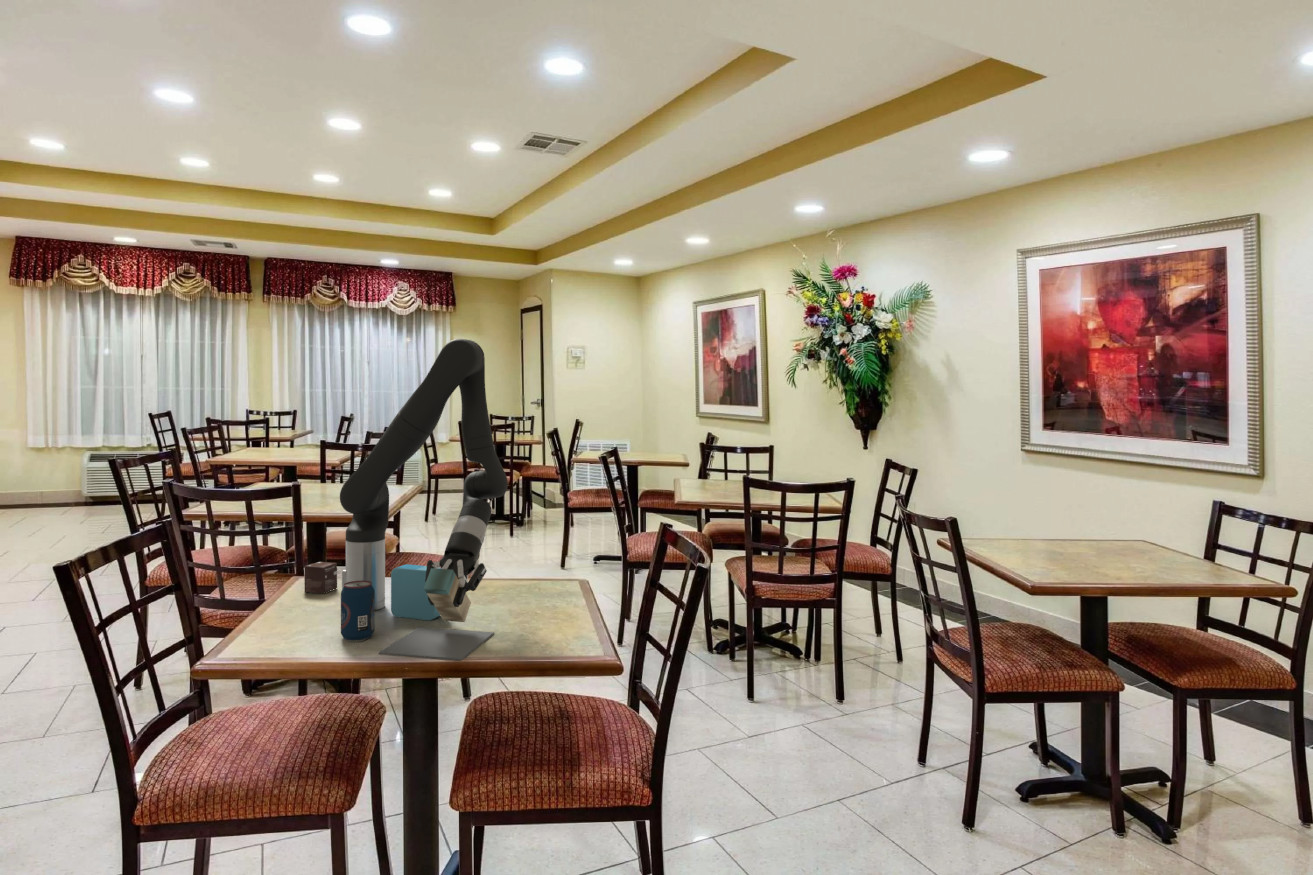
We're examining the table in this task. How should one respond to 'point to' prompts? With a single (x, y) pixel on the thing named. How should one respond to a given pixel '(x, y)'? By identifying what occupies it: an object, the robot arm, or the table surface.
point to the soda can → (357, 610)
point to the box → (320, 577)
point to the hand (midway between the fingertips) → (443, 604)
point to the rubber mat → (438, 643)
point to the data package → (411, 593)
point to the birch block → (446, 594)
